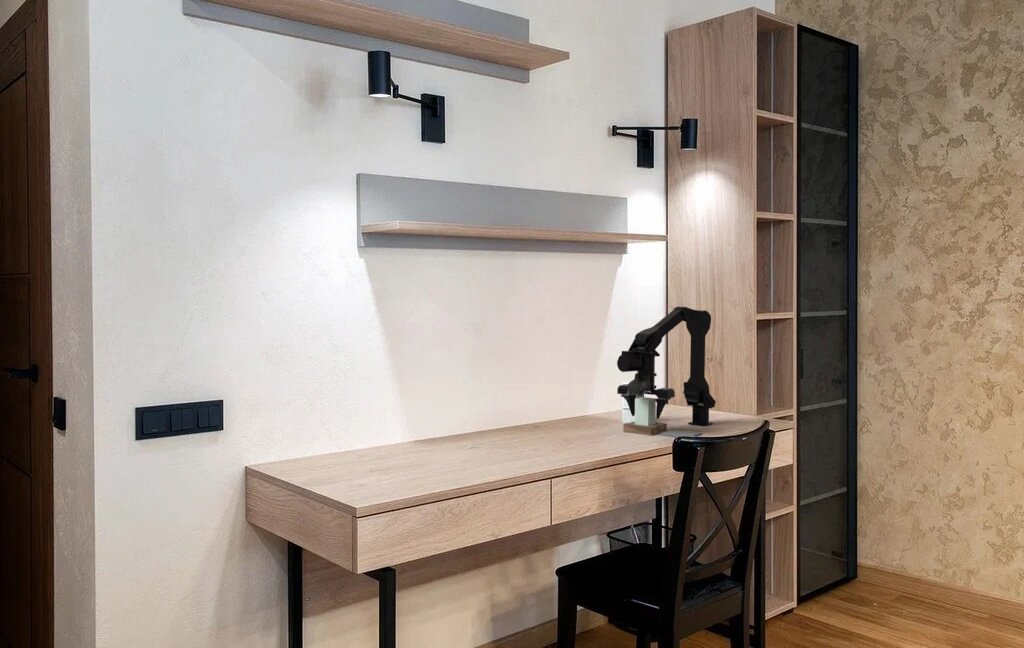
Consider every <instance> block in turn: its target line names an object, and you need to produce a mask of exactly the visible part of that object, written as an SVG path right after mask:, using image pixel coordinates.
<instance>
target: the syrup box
mask: <svg viewBox="0 0 1024 648" xmlns="http://www.w3.org/2000/svg"><path fill="white" fill-rule="evenodd" d="M631 381H632V380H628V381H623V382H621V383H622V384H621V385H625V384H629V383H630V382H631ZM640 397H645V394H642V395H637V394H636V398H640ZM621 398H622V404H621V405H622V417H621V418H622V423H623V424H626V423H630V422H634V421H635V415H634V416H632V414H631V412H630V409H629V406H628V403H627V401H626V399H625V398H624V397H621Z"/></svg>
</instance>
